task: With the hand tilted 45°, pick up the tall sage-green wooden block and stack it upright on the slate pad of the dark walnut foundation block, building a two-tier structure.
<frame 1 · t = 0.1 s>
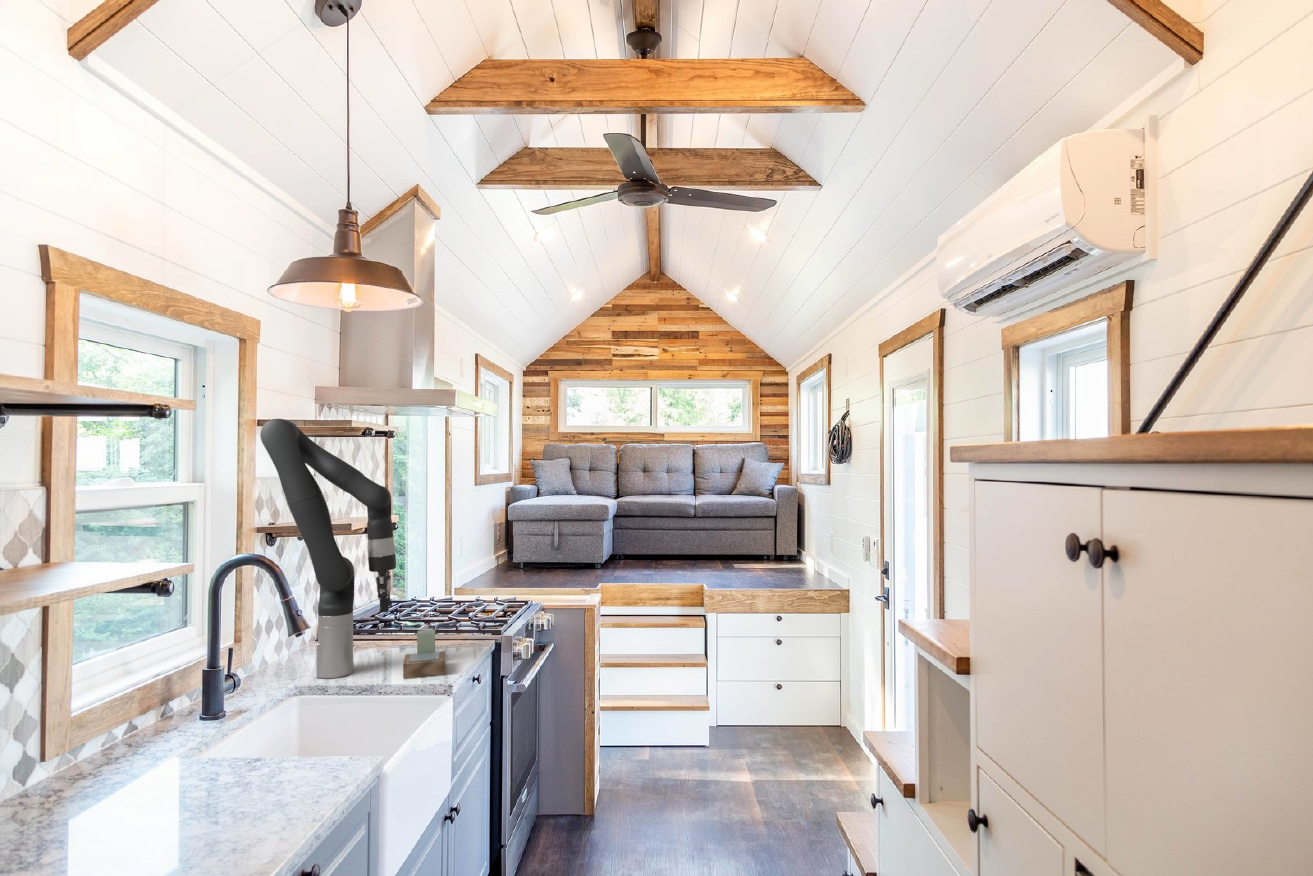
hand: (385, 609, 209), 17 cm above the worktop, tool pointing down, fingers open, 8 cm apart
sage block: (426, 662, 215), on the worktop
foundation block: (425, 671, 204), on the worktop
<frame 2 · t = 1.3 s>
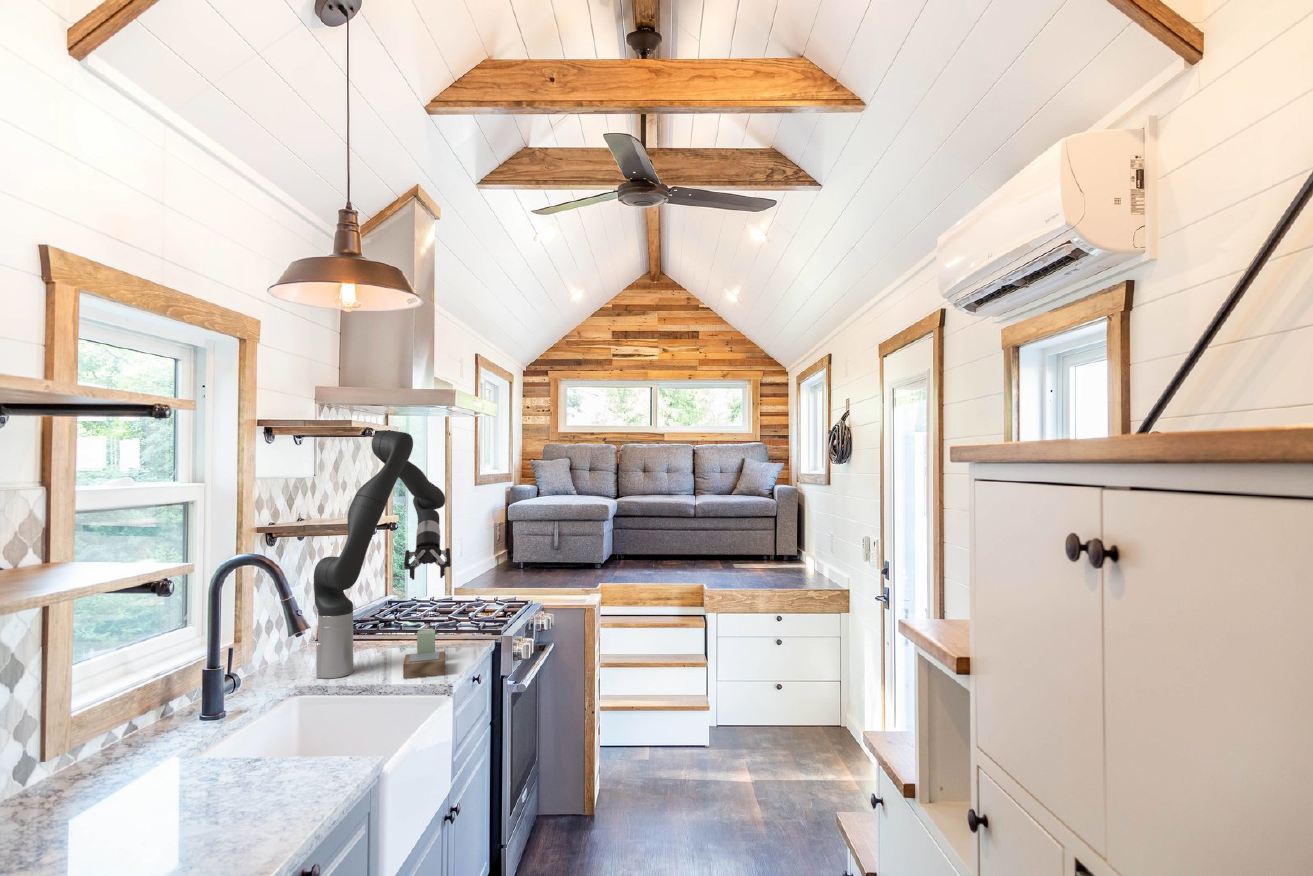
hand: (427, 577, 226), 24 cm above the worktop, tool tilted 45°, fingers open, 8 cm apart
nothing on the worktop moved.
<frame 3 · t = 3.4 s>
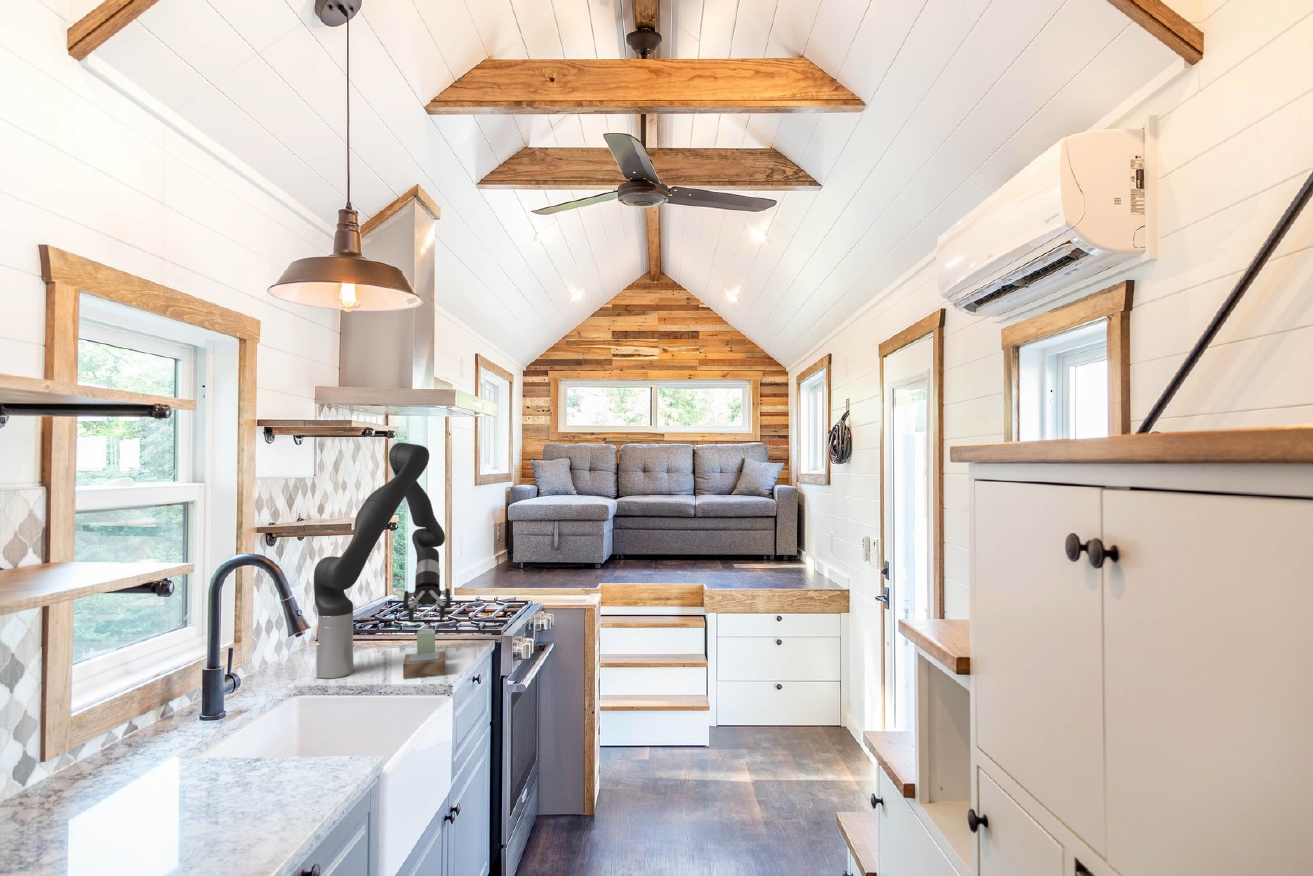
hand: (426, 619, 221), 11 cm above the worktop, tool tilted 45°, fingers open, 8 cm apart
nothing on the worktop moved.
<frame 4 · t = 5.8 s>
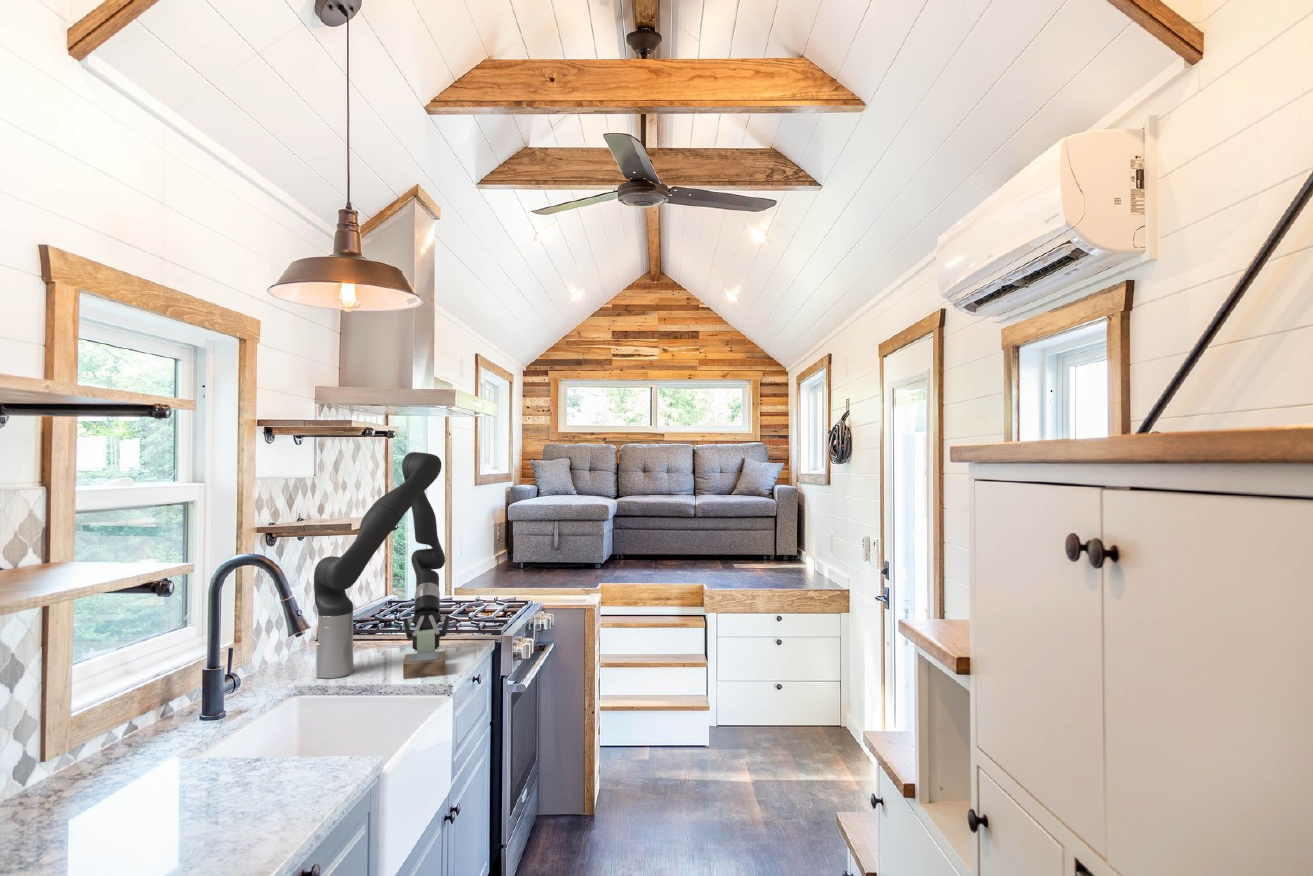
hand: (426, 648, 213), 4 cm above the worktop, tool tilted 45°, fingers closed on sage block, 5 cm apart
sage block: (426, 661, 215), on the worktop, touching gripper
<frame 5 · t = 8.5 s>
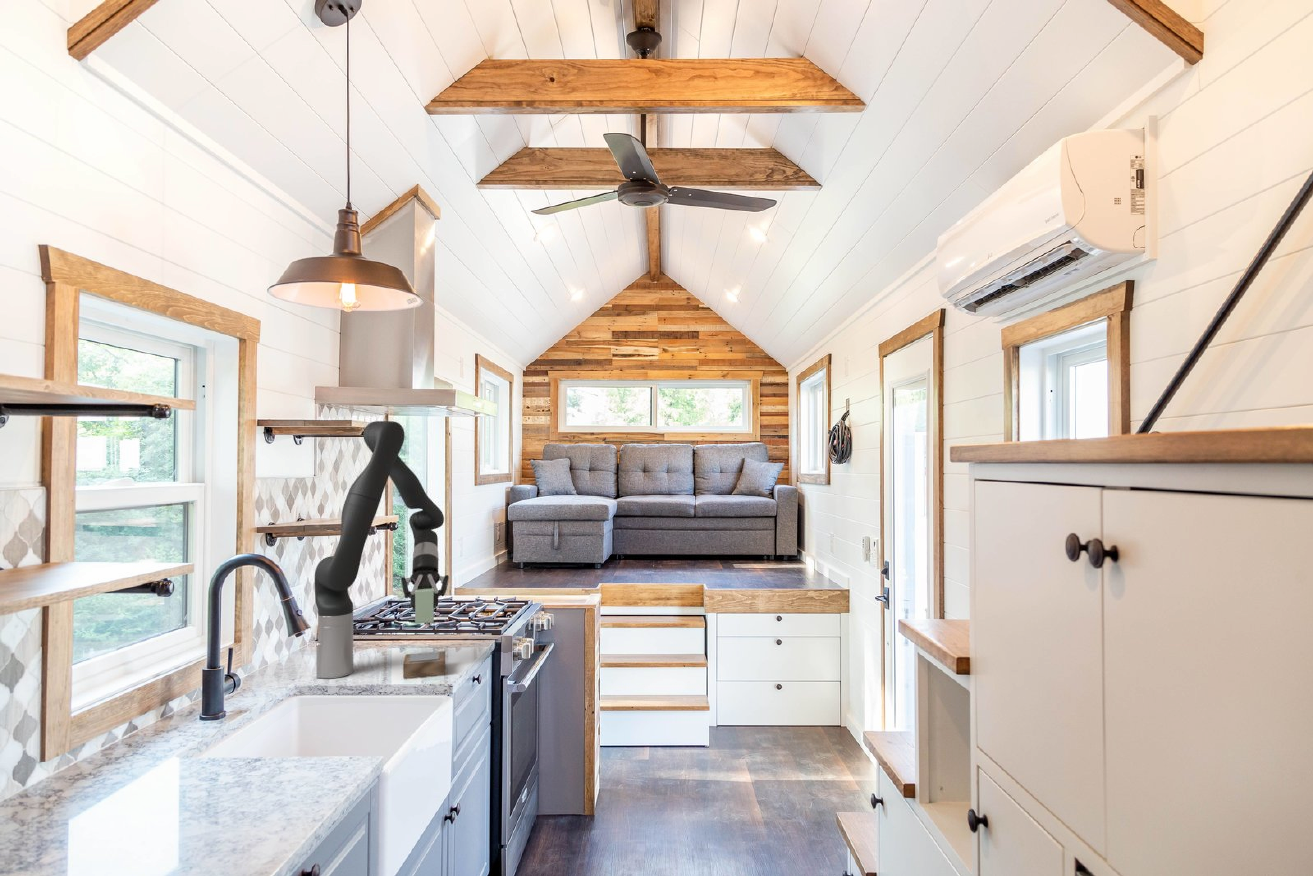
hand: (424, 607, 207), 18 cm above the worktop, tool tilted 45°, fingers closed on sage block, 5 cm apart
sage block: (424, 621, 209), point 13 cm above the worktop, touching gripper
when the fingers open (10 cm above the worktop, at t = 11.2 s): sage block drops 1 cm, resting on foundation block.
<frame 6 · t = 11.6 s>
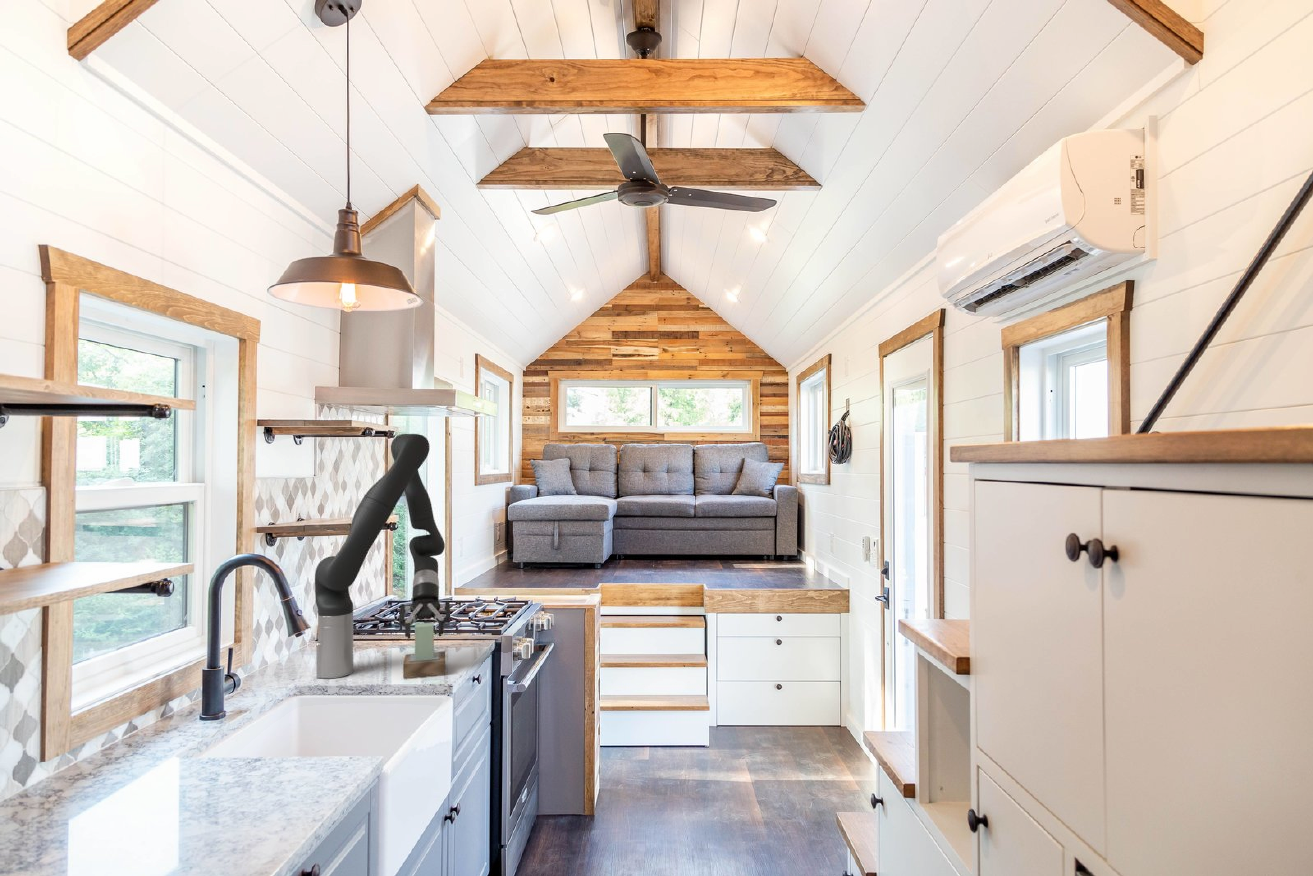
hand: (424, 636, 203), 10 cm above the worktop, tool tilted 45°, fingers open, 8 cm apart
sage block: (424, 656, 204), point 4 cm above the worktop, touching foundation block
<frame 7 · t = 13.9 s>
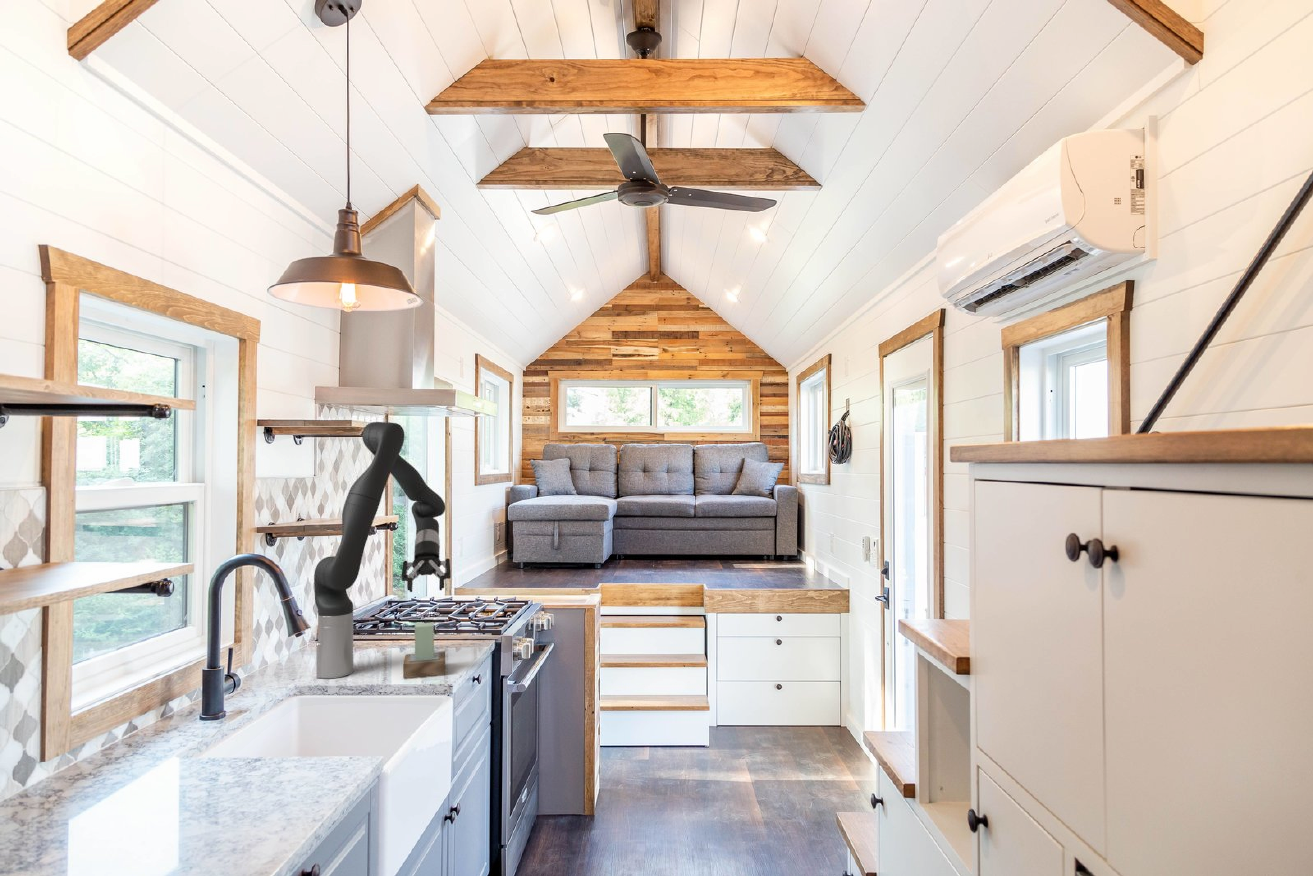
hand: (425, 589, 215), 22 cm above the worktop, tool tilted 45°, fingers open, 8 cm apart
nothing on the worktop moved.
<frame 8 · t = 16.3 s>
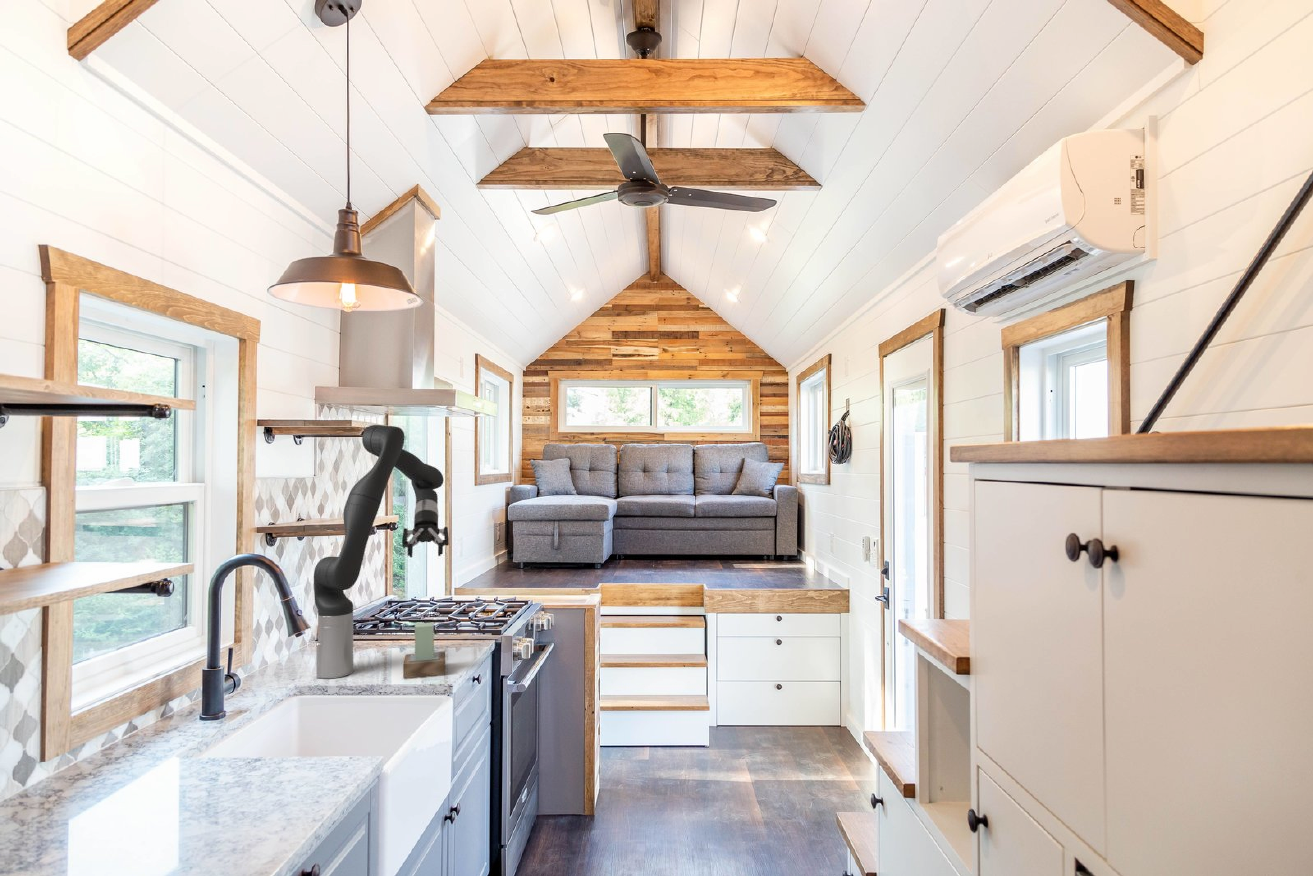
hand: (425, 555, 226), 31 cm above the worktop, tool tilted 45°, fingers open, 8 cm apart
nothing on the worktop moved.
at the end: sage block 0.1 cm off-centre on the foundation block, point 4.3 cm above the foundation block's base; sage block tilted 0°; the gripper is holding nothing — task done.
